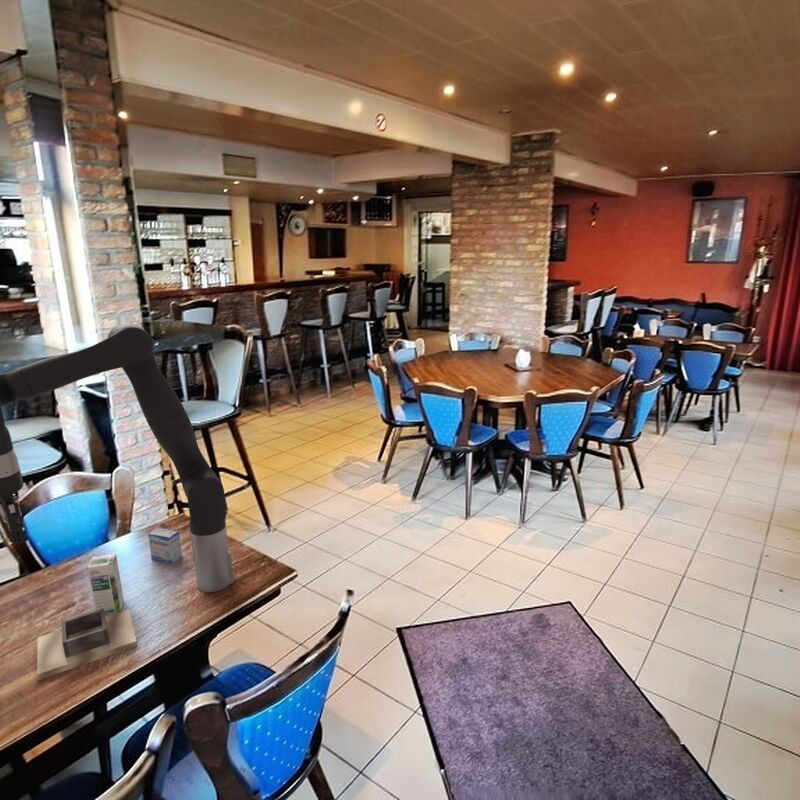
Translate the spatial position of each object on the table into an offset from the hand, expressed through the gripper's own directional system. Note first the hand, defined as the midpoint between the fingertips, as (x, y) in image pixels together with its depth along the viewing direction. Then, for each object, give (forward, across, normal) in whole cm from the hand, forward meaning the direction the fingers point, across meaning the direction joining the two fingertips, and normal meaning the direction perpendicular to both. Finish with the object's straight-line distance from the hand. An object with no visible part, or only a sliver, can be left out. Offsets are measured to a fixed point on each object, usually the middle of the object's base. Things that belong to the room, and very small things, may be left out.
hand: (15, 536), depth 129 cm
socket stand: (+28, -10, -8) cm, 31 cm away
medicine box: (+28, +14, -36) cm, 48 cm away
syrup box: (+28, 0, -16) cm, 32 cm away
